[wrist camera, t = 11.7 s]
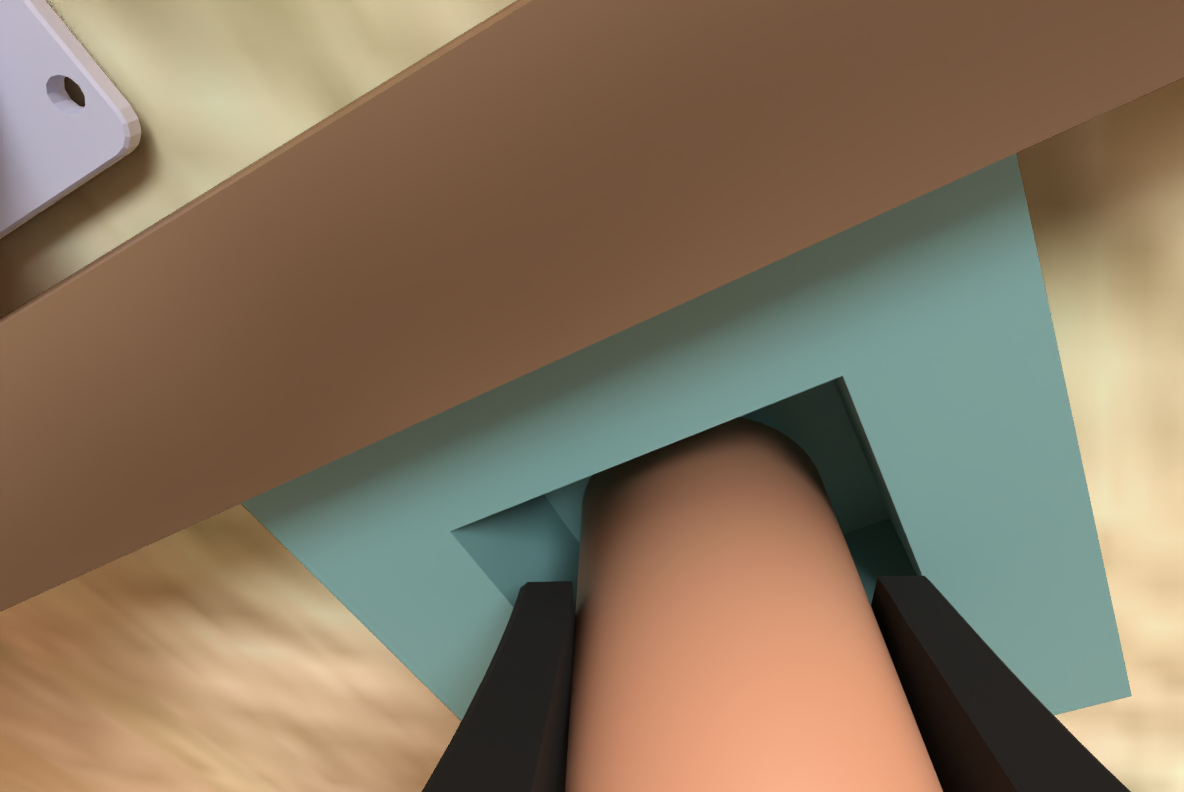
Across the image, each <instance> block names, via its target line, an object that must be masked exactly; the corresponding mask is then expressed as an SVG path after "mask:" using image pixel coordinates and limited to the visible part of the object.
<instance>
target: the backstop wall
mask: <svg viewBox="0 0 1184 792" xmlns="http://www.w3.org/2000/svg"><path fill="white" fill-rule="evenodd" d="M1183 77H1184V0H517V1H516V2H514V3H512V4H511V5H509V6H507V7H506V8H504V9H503V10H501V11H499V12H498V13H496V14H494V15H493V16H491V17H490V18H488V19H486V20H485V21H483V22H481V23H480V24H478V25H477V26H475V27H473V28H472V29H470V30H468V31H467V32H465V33H464V34H462V35H460V36H459V37H457V38H455V39H454V40H452V41H451V42H449V43H447V44H446V45H444V46H442V47H441V48H439V49H438V50H436V51H434V52H433V53H431V54H429V55H428V56H426V57H425V58H423V59H421V60H420V61H418V62H416V63H415V64H413V65H412V66H410V67H408V68H407V69H405V70H403V71H402V72H400V73H399V74H397V75H395V76H394V77H392V78H390V79H389V80H387V81H386V82H384V83H382V84H381V85H379V86H377V87H376V88H374V89H373V90H371V91H369V92H368V93H366V94H364V95H363V96H361V97H360V98H358V99H356V100H355V101H353V102H351V103H350V104H348V105H347V106H345V107H343V108H342V109H340V110H339V111H337V112H335V113H334V114H332V115H330V116H329V117H327V118H326V119H324V120H322V121H321V122H319V123H317V124H316V125H314V126H313V127H311V128H309V129H308V130H306V131H304V132H303V133H301V134H300V135H298V136H296V137H295V138H293V139H291V140H290V141H288V142H287V143H285V144H283V145H282V146H280V147H278V148H277V149H275V150H274V151H272V152H270V153H269V154H267V155H265V156H264V157H262V158H261V159H259V160H257V161H256V162H254V163H252V164H251V165H249V166H248V167H246V168H244V169H243V170H241V171H239V172H238V173H236V174H235V175H233V176H231V177H230V178H228V179H226V180H225V181H223V182H222V183H220V184H218V185H217V186H215V187H213V188H212V189H210V190H209V191H207V192H205V193H204V194H202V195H200V196H199V197H197V198H196V199H194V200H192V201H191V202H189V203H187V204H186V205H184V206H183V207H181V208H179V209H178V210H176V211H174V212H173V213H171V214H170V215H168V216H166V217H165V218H163V219H161V220H160V221H158V222H157V223H155V224H153V225H152V226H150V227H148V228H147V229H145V230H144V231H142V232H140V233H139V234H137V235H135V236H134V237H132V238H131V239H129V240H127V241H126V242H124V243H122V244H121V245H119V246H118V247H116V248H114V249H113V250H111V251H110V252H108V253H106V254H105V255H103V256H101V257H100V258H98V259H97V260H95V261H93V262H92V263H90V264H88V265H87V266H85V267H84V268H82V269H80V270H79V271H77V272H75V273H74V274H72V275H71V276H69V277H67V278H66V279H64V280H62V281H61V282H59V283H58V284H56V285H54V286H53V287H51V288H49V289H48V290H46V291H45V292H43V293H41V294H40V295H38V296H36V297H35V298H33V299H32V300H30V301H28V302H27V303H25V304H23V305H22V306H20V307H19V308H17V309H15V310H14V311H12V312H10V313H9V314H7V315H6V316H4V317H2V318H1V319H0V611H3V610H5V609H7V608H9V607H12V606H14V605H16V604H18V603H20V602H23V601H25V600H27V599H29V598H31V597H34V596H36V595H38V594H40V593H43V592H45V591H47V590H49V589H51V588H54V587H56V586H58V585H60V584H62V583H65V582H67V581H69V580H71V579H74V578H76V577H78V576H80V575H82V574H85V573H87V572H89V571H91V570H93V569H96V568H98V567H100V566H102V565H105V564H107V563H109V562H111V561H113V560H116V559H118V558H120V557H122V556H124V555H127V554H129V553H131V552H133V551H136V550H138V549H140V548H142V547H144V546H147V545H149V544H151V543H153V542H156V541H158V540H160V539H162V538H164V537H167V536H169V535H171V534H173V533H175V532H178V531H180V530H182V529H184V528H187V527H189V526H191V525H193V524H195V523H198V522H200V521H202V520H204V519H206V518H209V517H211V516H213V515H215V514H218V513H220V512H222V511H224V510H226V509H229V508H231V507H233V506H235V505H237V504H240V503H242V502H244V501H246V500H249V499H251V498H253V497H255V496H257V495H260V494H262V493H264V492H266V491H268V490H271V489H273V488H275V487H277V486H280V485H282V484H284V483H286V482H288V481H291V480H293V479H295V478H297V477H299V476H302V475H304V474H306V473H308V472H311V471H313V470H315V469H317V468H319V467H322V466H324V465H326V464H328V463H331V462H333V461H335V460H337V459H339V458H342V457H344V456H346V455H348V454H350V453H353V452H355V451H357V450H359V449H362V448H364V447H366V446H368V445H370V444H373V443H375V442H377V441H379V440H381V439H384V438H386V437H388V436H390V435H393V434H395V433H397V432H399V431H401V430H404V429H406V428H408V427H410V426H412V425H415V424H417V423H419V422H421V421H424V420H426V419H428V418H430V417H432V416H435V415H437V414H439V413H441V412H443V411H446V410H448V409H450V408H452V407H455V406H457V405H459V404H461V403H463V402H466V401H468V400H470V399H472V398H475V397H477V396H479V395H481V394H483V393H486V392H488V391H490V390H492V389H494V388H497V387H499V386H501V385H503V384H506V383H508V382H510V381H512V380H514V379H517V378H519V377H521V376H523V375H525V374H528V373H530V372H532V371H534V370H537V369H539V368H541V367H543V366H545V365H548V364H550V363H552V362H554V361H556V360H559V359H561V358H563V357H565V356H568V355H570V354H572V353H574V352H576V351H579V350H581V349H583V348H585V347H587V346H590V345H592V344H594V343H596V342H599V341H601V340H603V339H605V338H607V337H610V336H612V335H614V334H616V333H618V332H621V331H623V330H625V329H627V328H630V327H632V326H634V325H636V324H638V323H641V322H643V321H645V320H647V319H650V318H652V317H654V316H656V315H658V314H661V313H663V312H665V311H667V310H669V309H672V308H674V307H676V306H678V305H681V304H683V303H685V302H687V301H689V300H692V299H694V298H696V297H698V296H700V295H703V294H705V293H707V292H709V291H712V290H714V289H716V288H718V287H720V286H723V285H725V284H727V283H729V282H731V281H734V280H736V279H738V278H740V277H743V276H745V275H747V274H749V273H751V272H754V271H756V270H758V269H760V268H762V267H765V266H767V265H769V264H771V263H774V262H776V261H778V260H780V259H782V258H785V257H787V256H789V255H791V254H794V253H796V252H798V251H800V250H802V249H805V248H807V247H809V246H811V245H813V244H816V243H818V242H820V241H822V240H825V239H827V238H829V237H831V236H833V235H836V234H838V233H840V232H842V231H844V230H847V229H849V228H851V227H853V226H856V225H858V224H860V223H862V222H864V221H867V220H869V219H871V218H873V217H875V216H878V215H880V214H882V213H884V212H887V211H889V210H891V209H893V208H895V207H898V206H900V205H902V204H904V203H906V202H909V201H911V200H913V199H915V198H918V197H920V196H922V195H924V194H926V193H929V192H931V191H933V190H935V189H937V188H940V187H942V186H944V185H946V184H949V183H951V182H953V181H955V180H957V179H960V178H962V177H964V176H966V175H969V174H971V173H973V172H975V171H977V170H980V169H982V168H984V167H986V166H988V165H991V164H993V163H995V162H997V161H1000V160H1002V159H1004V158H1006V157H1008V156H1011V155H1013V154H1015V153H1017V152H1019V151H1022V150H1024V149H1026V148H1028V147H1031V146H1033V145H1035V144H1037V143H1039V142H1042V141H1044V140H1046V139H1048V138H1050V137H1053V136H1055V135H1057V134H1059V133H1062V132H1064V131H1066V130H1068V129H1070V128H1073V127H1075V126H1077V125H1079V124H1081V123H1084V122H1086V121H1088V120H1090V119H1093V118H1095V117H1097V116H1099V115H1101V114H1104V113H1106V112H1108V111H1110V110H1113V109H1115V108H1117V107H1119V106H1121V105H1124V104H1126V103H1128V102H1130V101H1132V100H1135V99H1137V98H1139V97H1141V96H1144V95H1146V94H1148V93H1150V92H1152V91H1155V90H1157V89H1159V88H1161V87H1163V86H1166V85H1168V84H1170V83H1172V82H1175V81H1177V80H1179V79H1181V78H1183Z"/></svg>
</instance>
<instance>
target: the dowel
mask: <svg viewBox="0 0 1184 792" xmlns="http://www.w3.org/2000/svg"><path fill="white" fill-rule="evenodd" d="M565 792H943V790H942V788H941V785H940V782H939V780H938V777H937V775H936V772H935V770H934V767H933V764H932V762H931V759H930V757H929V754H928V752H927V749H926V746H925V744H924V741H923V739H922V736H921V734H920V731H919V728H918V726H917V723H916V721H915V718H914V716H913V713H912V710H911V708H910V705H909V703H908V700H907V698H906V695H905V692H904V690H903V687H902V685H901V682H900V680H899V677H898V674H897V672H896V669H895V667H894V664H893V661H892V659H891V656H890V654H889V651H888V649H887V646H886V643H885V641H884V638H883V636H882V633H881V631H880V628H879V625H878V623H877V620H876V618H875V615H874V613H873V610H872V607H871V605H870V602H869V600H868V597H867V595H866V592H865V589H864V587H863V584H862V582H861V579H860V577H859V574H858V571H857V569H856V566H855V564H854V561H853V559H852V556H851V553H850V551H849V548H848V546H847V543H846V541H845V538H844V535H843V533H842V530H841V528H840V525H839V523H838V520H837V517H836V515H835V512H834V510H833V507H832V505H831V502H830V499H829V497H828V494H827V492H826V489H825V487H824V484H823V481H822V479H821V477H820V474H819V472H818V470H817V468H816V466H815V464H814V463H813V461H812V460H811V458H810V457H809V456H808V454H807V453H806V452H805V451H804V450H803V449H802V448H801V447H800V446H799V445H798V444H797V443H795V442H794V441H793V440H792V439H791V438H789V437H788V436H786V435H784V434H783V433H781V432H780V431H778V430H776V429H774V428H772V427H770V426H767V425H765V424H763V423H760V422H757V421H753V420H750V419H747V418H742V417H737V418H735V419H732V420H730V421H727V422H725V423H722V424H720V425H717V426H714V427H712V428H709V429H707V430H704V431H702V432H699V433H697V434H694V435H692V436H689V437H687V438H684V439H682V440H679V441H677V442H674V443H672V444H669V445H667V446H664V447H661V448H659V449H656V450H654V451H651V452H649V453H646V454H644V455H641V456H639V457H636V458H634V459H631V460H629V461H626V462H624V463H621V464H619V465H616V466H614V467H611V468H609V469H606V470H603V471H601V472H598V473H596V474H593V475H592V476H591V477H590V479H589V482H588V484H587V487H586V489H585V493H584V497H583V501H582V516H581V532H580V549H579V566H578V583H577V599H576V617H575V634H574V651H573V668H572V684H571V700H570V716H569V733H568V750H567V766H566V783H565Z"/></svg>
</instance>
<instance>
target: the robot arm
mask: <svg viewBox="0 0 1184 792" xmlns="http://www.w3.org/2000/svg"><path fill="white" fill-rule="evenodd" d="M65 77H69V78H70V79H72V80H73V81H74V82H75V83H76V84H78V85H79V87H80V88H81V90H82V92H83V94H84V96H85V106H84V107H81V106H79V105H78V104H76V103H75V102H74V101H73V100H71V99H70V97H69V95H68V94H67V92H66V90H65V86H64V78H65ZM141 133H142V132H141V127H140V123H139V118H138V117H137V115H136V113H135V112H134V110H133V108H132V107H131V105H130V104H129V103H128V102H127V100H126V99H125V98H124V97H123V95H122V94H121V93H120V92H119V90H118V89H117V88H116V87H115V86H114V84H113V83H112V82H111V81H110V79H109V78H108V77H107V76H106V74H105V73H104V72H103V71H102V69H101V68H100V67H99V66H98V65H97V63H96V62H95V61H94V60H93V58H92V57H91V56H90V55H89V53H88V52H87V51H86V50H85V49H84V47H83V46H82V45H81V44H80V42H79V41H78V40H77V39H76V37H75V36H74V35H73V34H72V33H71V31H70V30H69V29H68V28H67V26H66V25H65V24H64V23H63V21H62V20H61V19H60V18H59V17H58V15H57V14H56V13H55V12H54V10H53V9H52V8H51V7H50V5H49V4H48V3H47V2H46V1H45V0H0V239H1V238H3V237H4V236H6V235H7V234H9V233H10V232H12V231H13V230H15V229H16V228H18V227H19V226H21V225H22V224H24V223H25V222H27V221H28V220H30V219H31V218H33V217H34V216H36V215H37V214H39V213H40V212H42V211H43V210H45V209H47V208H48V207H50V206H51V205H53V204H54V203H56V202H57V201H59V200H60V199H62V198H63V197H65V196H66V195H68V194H69V193H71V192H72V191H74V190H75V189H77V188H78V187H80V186H81V185H83V184H84V183H86V182H87V181H89V180H90V179H92V178H93V177H95V176H96V175H98V174H100V173H101V172H103V171H104V170H106V169H107V168H109V167H110V166H112V165H113V164H115V163H116V162H118V161H119V160H121V159H122V158H124V157H125V156H127V155H128V154H130V153H131V152H133V150H134V149H135V148H136V147H137V146H138V145H139V143H140V138H141ZM871 607H872V610H873V613H874V615H875V618H876V620H877V623H878V625H879V628H880V631H881V633H882V636H883V638H884V641H885V643H886V646H887V649H888V651H889V654H890V656H891V659H892V661H893V664H894V667H895V669H896V672H897V674H898V677H899V680H900V682H901V685H902V687H903V690H904V692H905V695H906V698H907V700H908V703H909V705H910V708H911V710H912V713H913V716H914V718H915V721H916V723H917V726H918V728H919V731H920V734H921V736H922V739H923V741H924V744H925V746H926V749H927V752H928V754H929V757H930V759H931V762H932V764H933V767H934V770H935V772H936V775H937V777H938V780H939V782H940V785H941V788H942V790H943V792H1131V791H1129V790H1128V789H1127V788H1126V787H1125V786H1124V785H1123V784H1122V783H1121V782H1120V781H1119V780H1118V779H1117V778H1116V777H1115V776H1114V775H1113V774H1112V773H1111V772H1110V771H1109V770H1108V769H1106V768H1105V767H1104V766H1103V765H1102V764H1101V763H1100V762H1099V761H1098V760H1097V759H1096V758H1095V757H1094V756H1093V755H1092V754H1091V753H1090V752H1089V751H1088V750H1087V749H1086V748H1085V747H1084V746H1083V745H1082V744H1081V743H1080V742H1079V741H1078V740H1077V739H1076V738H1075V737H1074V736H1073V735H1072V734H1071V733H1070V732H1069V730H1068V729H1067V728H1066V727H1065V726H1064V725H1063V724H1062V723H1061V722H1060V721H1059V720H1058V719H1057V718H1056V717H1055V716H1054V715H1053V714H1052V713H1051V712H1050V711H1049V710H1048V709H1047V708H1046V707H1045V706H1044V705H1043V704H1042V703H1041V702H1040V701H1039V699H1038V698H1037V697H1036V696H1035V695H1034V694H1033V693H1032V692H1031V691H1030V690H1029V689H1028V688H1027V687H1026V686H1025V685H1024V684H1023V683H1022V682H1021V681H1020V680H1019V678H1018V677H1017V676H1016V675H1015V674H1014V673H1013V672H1012V671H1011V670H1010V669H1009V668H1008V667H1007V666H1006V664H1005V663H1004V662H1003V661H1002V660H1001V659H1000V658H999V657H998V656H997V655H996V654H995V652H994V651H993V650H992V649H991V648H990V647H989V646H988V645H987V644H986V643H985V641H984V640H983V639H982V638H981V637H980V636H979V635H978V634H977V633H976V632H975V630H974V629H973V628H972V627H971V626H970V625H969V624H968V623H967V621H966V620H965V619H964V618H963V617H962V616H961V615H960V614H959V613H958V611H957V610H956V609H955V608H954V607H953V606H952V605H951V604H950V602H949V601H948V600H947V599H946V598H945V597H944V596H943V595H942V593H941V592H940V591H939V590H938V589H937V588H936V587H935V586H934V585H933V583H932V582H931V581H930V580H929V579H928V578H927V577H926V576H878V577H877V581H876V586H875V590H874V594H873V599H872V603H871ZM575 617H576V615H575V605H574V594H573V583H572V581H551V582H527V583H526V584H525V585H523V586H522V587H521V588H520V590H519V593H518V596H517V599H516V602H515V605H514V608H513V611H512V613H511V616H510V618H509V621H508V624H507V626H506V628H505V631H504V633H503V636H502V638H501V640H500V643H499V645H498V647H497V649H496V652H495V654H494V656H493V658H492V660H491V663H490V665H489V667H488V669H487V671H486V673H485V676H484V678H483V680H482V682H481V683H480V685H479V687H478V689H477V691H476V693H475V695H474V697H473V699H472V701H471V703H470V705H469V707H468V709H467V711H466V713H465V715H464V717H463V719H462V721H461V723H460V725H459V727H458V729H457V731H456V733H455V734H454V736H453V738H452V740H451V742H450V744H449V745H448V747H447V749H446V751H445V752H444V754H443V756H442V758H441V759H440V761H439V763H438V765H437V766H436V768H435V770H434V772H433V773H432V775H431V777H430V778H429V780H428V782H427V784H426V785H425V787H424V789H423V791H422V792H565V783H566V766H567V750H568V733H569V716H570V700H571V684H572V668H573V651H574V634H575Z"/></svg>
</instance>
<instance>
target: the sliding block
mask: <svg viewBox="0 0 1184 792" xmlns="http://www.w3.org/2000/svg"><path fill="white" fill-rule="evenodd" d="M737 417H742V418H747V419H750V420H753V421H757V422H760V423H763V424H765V425H767V426H770V427H772V428H774V429H776V430H778V431H780V432H781V433H783V434H784V435H786V436H788V437H789V438H791V439H792V440H793V441H794V442H795V443H797V444H798V445H799V446H800V447H801V448H802V449H803V450H804V451H805V452H806V453H807V454H808V456H809V457H810V458H811V460H812V461H813V463H814V464H815V466H816V468H817V470H818V472H819V474H820V477H821V479H822V481H823V484H824V487H825V489H826V492H827V494H828V497H829V499H830V502H831V505H832V507H833V510H834V512H835V515H836V517H837V520H838V523H839V525H840V528H841V530H842V533H843V535H844V538H845V541H846V543H847V546H848V548H849V551H850V553H851V556H852V559H853V561H854V564H855V566H856V569H857V571H858V574H859V577H860V579H861V582H862V584H863V587H864V589H865V592H866V595H867V597H868V600H869V602H870V605H871V603H872V599H873V594H874V590H875V586H876V581H877V577H878V576H926V577H927V578H928V579H929V580H930V581H931V582H932V583H933V585H934V586H935V587H936V588H937V589H938V590H939V591H940V592H941V593H942V595H943V596H944V597H945V598H946V599H947V600H948V601H949V602H950V604H951V605H952V606H953V607H954V608H955V609H956V610H957V611H958V613H959V614H960V615H961V616H962V617H963V618H964V619H965V620H966V621H967V623H968V624H969V625H970V626H971V627H972V628H973V629H974V630H975V632H976V633H977V634H978V635H979V636H980V637H981V638H982V639H983V640H984V641H985V643H986V644H987V645H988V646H989V647H990V648H991V649H992V650H993V651H994V652H995V654H996V655H997V656H998V657H999V658H1000V659H1001V660H1002V661H1003V662H1004V663H1005V664H1006V666H1007V667H1008V668H1009V669H1010V670H1011V671H1012V672H1013V673H1014V674H1015V675H1016V676H1017V677H1018V678H1019V680H1020V681H1021V682H1022V683H1023V684H1024V685H1025V686H1026V687H1027V688H1028V689H1029V690H1030V691H1031V692H1032V693H1033V694H1034V695H1035V696H1036V697H1037V698H1038V699H1039V701H1040V702H1041V703H1042V704H1043V705H1044V706H1045V707H1046V708H1047V709H1048V710H1049V711H1050V712H1051V713H1052V714H1053V715H1057V714H1061V713H1065V712H1069V711H1073V710H1077V709H1081V708H1085V707H1089V706H1093V705H1097V704H1101V703H1105V702H1110V701H1114V700H1118V699H1122V698H1126V697H1130V696H1132V695H1131V691H1130V686H1129V681H1128V676H1127V672H1126V667H1125V662H1124V658H1123V653H1122V648H1121V643H1120V639H1119V634H1118V629H1117V625H1116V620H1115V615H1114V610H1113V606H1112V601H1111V596H1110V592H1109V587H1108V582H1107V577H1106V573H1105V568H1104V563H1103V559H1102V554H1101V549H1100V544H1099V540H1098V535H1097V530H1096V526H1095V521H1094V516H1093V512H1092V507H1091V502H1090V497H1089V493H1088V488H1087V483H1086V479H1085V474H1084V469H1083V464H1082V460H1081V455H1080V450H1079V446H1078V441H1077V436H1076V431H1075V427H1074V422H1073V417H1072V413H1071V408H1070V403H1069V398H1068V394H1067V389H1066V384H1065V380H1064V375H1063V370H1062V365H1061V361H1060V356H1059V351H1058V347H1057V342H1056V337H1055V332H1054V328H1053V323H1052V318H1051V314H1050V309H1049V304H1048V299H1047V295H1046V290H1045V285H1044V281H1043V276H1042V271H1041V266H1040V262H1039V257H1038V252H1037V248H1036V243H1035V238H1034V234H1033V229H1032V224H1031V219H1030V215H1029V210H1028V205H1027V201H1026V196H1025V191H1024V186H1023V182H1022V177H1021V172H1020V168H1019V163H1018V158H1017V153H1015V154H1013V155H1011V156H1008V157H1006V158H1004V159H1002V160H1000V161H997V162H995V163H993V164H991V165H988V166H986V167H984V168H982V169H980V170H977V171H975V172H973V173H971V174H969V175H966V176H964V177H962V178H960V179H957V180H955V181H953V182H951V183H949V184H946V185H944V186H942V187H940V188H937V189H935V190H933V191H931V192H929V193H926V194H924V195H922V196H920V197H918V198H915V199H913V200H911V201H909V202H906V203H904V204H902V205H900V206H898V207H895V208H893V209H891V210H889V211H887V212H884V213H882V214H880V215H878V216H875V217H873V218H871V219H869V220H867V221H864V222H862V223H860V224H858V225H856V226H853V227H851V228H849V229H847V230H844V231H842V232H840V233H838V234H836V235H833V236H831V237H829V238H827V239H825V240H822V241H820V242H818V243H816V244H813V245H811V246H809V247H807V248H805V249H802V250H800V251H798V252H796V253H794V254H791V255H789V256H787V257H785V258H782V259H780V260H778V261H776V262H774V263H771V264H769V265H767V266H765V267H762V268H760V269H758V270H756V271H754V272H751V273H749V274H747V275H745V276H743V277H740V278H738V279H736V280H734V281H731V282H729V283H727V284H725V285H723V286H720V287H718V288H716V289H714V290H712V291H709V292H707V293H705V294H703V295H700V296H698V297H696V298H694V299H692V300H689V301H687V302H685V303H683V304H681V305H678V306H676V307H674V308H672V309H669V310H667V311H665V312H663V313H661V314H658V315H656V316H654V317H652V318H650V319H647V320H645V321H643V322H641V323H638V324H636V325H634V326H632V327H630V328H627V329H625V330H623V331H621V332H618V333H616V334H614V335H612V336H610V337H607V338H605V339H603V340H601V341H599V342H596V343H594V344H592V345H590V346H587V347H585V348H583V349H581V350H579V351H576V352H574V353H572V354H570V355H568V356H565V357H563V358H561V359H559V360H556V361H554V362H552V363H550V364H548V365H545V366H543V367H541V368H539V369H537V370H534V371H532V372H530V373H528V374H525V375H523V376H521V377H519V378H517V379H514V380H512V381H510V382H508V383H506V384H503V385H501V386H499V387H497V388H494V389H492V390H490V391H488V392H486V393H483V394H481V395H479V396H477V397H475V398H472V399H470V400H468V401H466V402H463V403H461V404H459V405H457V406H455V407H452V408H450V409H448V410H446V411H443V412H441V413H439V414H437V415H435V416H432V417H430V418H428V419H426V420H424V421H421V422H419V423H417V424H415V425H412V426H410V427H408V428H406V429H404V430H401V431H399V432H397V433H395V434H393V435H390V436H388V437H386V438H384V439H381V440H379V441H377V442H375V443H373V444H370V445H368V446H366V447H364V448H362V449H359V450H357V451H355V452H353V453H350V454H348V455H346V456H344V457H342V458H339V459H337V460H335V461H333V462H331V463H328V464H326V465H324V466H322V467H319V468H317V469H315V470H313V471H311V472H308V473H306V474H304V475H302V476H299V477H297V478H295V479H293V480H291V481H288V482H286V483H284V484H282V485H280V486H277V487H275V488H273V489H271V490H268V491H266V492H264V493H262V494H260V495H257V496H255V497H253V498H251V499H249V500H246V501H244V502H242V503H241V504H242V505H243V506H244V507H245V508H246V509H247V510H248V511H249V512H250V513H251V514H252V515H253V516H254V517H255V518H256V519H257V520H258V521H259V522H260V523H261V524H262V525H263V526H264V527H265V528H266V529H267V530H268V531H269V532H270V533H271V534H272V535H273V536H274V537H275V538H276V539H277V540H278V541H279V542H280V543H281V544H282V545H284V546H285V547H286V548H287V549H288V550H289V551H290V552H291V553H292V554H293V555H294V556H295V557H296V558H297V559H298V560H299V561H300V562H301V563H302V564H303V565H304V566H305V567H306V568H307V569H308V570H309V571H310V572H311V573H312V574H313V575H314V576H315V577H316V578H317V579H318V580H319V581H320V582H321V583H322V584H323V585H324V586H325V587H326V588H327V589H328V590H329V591H330V592H331V593H332V594H333V595H334V596H335V597H336V598H337V599H338V600H339V601H340V602H341V603H342V604H343V605H344V606H345V607H346V608H347V609H348V610H349V611H350V612H351V613H352V614H353V615H354V616H355V617H356V618H357V619H358V620H359V621H360V622H361V623H362V624H364V625H365V626H366V627H367V628H368V629H369V630H370V631H371V632H372V633H373V634H374V635H375V636H376V637H377V638H378V639H379V640H380V641H381V642H382V643H383V644H384V645H385V646H386V647H387V648H388V649H389V650H390V651H391V652H392V653H393V654H394V655H395V656H396V657H397V658H398V659H399V660H400V661H401V662H402V663H403V664H404V665H405V666H406V667H407V668H408V669H409V670H410V671H411V672H412V673H413V674H414V675H415V676H416V677H417V678H418V679H419V680H420V681H421V682H422V683H423V684H424V685H425V686H426V687H427V688H428V689H429V690H430V691H431V692H432V693H433V694H434V695H435V696H436V697H437V698H438V699H439V700H440V701H441V702H442V703H444V704H445V705H446V706H447V707H448V708H449V709H450V710H451V711H452V712H453V713H454V714H455V715H456V716H457V717H458V718H459V719H460V720H461V721H462V719H463V717H464V715H465V713H466V711H467V709H468V707H469V705H470V703H471V701H472V699H473V697H474V695H475V693H476V691H477V689H478V687H479V685H480V683H481V682H482V680H483V678H484V676H485V673H486V671H487V669H488V667H489V665H490V663H491V660H492V658H493V656H494V654H495V652H496V649H497V647H498V645H499V643H500V640H501V638H502V636H503V633H504V631H505V628H506V626H507V624H508V621H509V618H510V616H511V613H512V611H513V608H514V605H515V602H516V599H517V596H518V593H519V590H520V588H521V587H522V586H523V585H525V584H526V583H527V582H551V581H572V583H573V594H574V605H575V615H576V599H577V583H578V566H579V549H580V532H581V516H582V501H583V497H584V493H585V489H586V487H587V484H588V482H589V479H590V477H591V476H592V475H593V474H596V473H598V472H601V471H603V470H606V469H609V468H611V467H614V466H616V465H619V464H621V463H624V462H626V461H629V460H631V459H634V458H636V457H639V456H641V455H644V454H646V453H649V452H651V451H654V450H656V449H659V448H661V447H664V446H667V445H669V444H672V443H674V442H677V441H679V440H682V439H684V438H687V437H689V436H692V435H694V434H697V433H699V432H702V431H704V430H707V429H709V428H712V427H714V426H717V425H720V424H722V423H725V422H727V421H730V420H732V419H735V418H737Z"/></svg>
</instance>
